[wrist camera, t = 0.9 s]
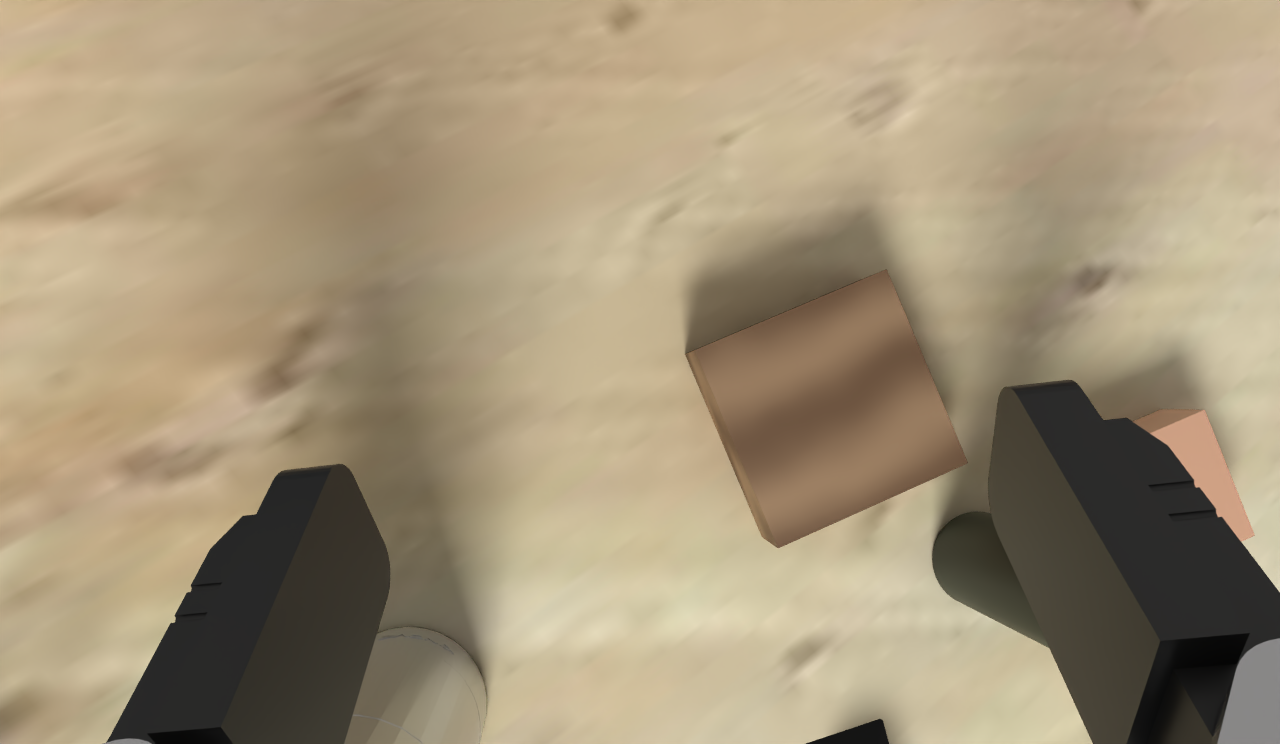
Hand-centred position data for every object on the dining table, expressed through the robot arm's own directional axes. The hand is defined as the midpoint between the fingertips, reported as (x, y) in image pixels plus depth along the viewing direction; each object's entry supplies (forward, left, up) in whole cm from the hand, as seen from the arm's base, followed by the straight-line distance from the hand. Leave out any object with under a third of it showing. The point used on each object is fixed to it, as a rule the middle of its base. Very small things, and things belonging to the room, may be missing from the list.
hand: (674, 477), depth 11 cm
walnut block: (+3, -13, -41) cm, 43 cm away
